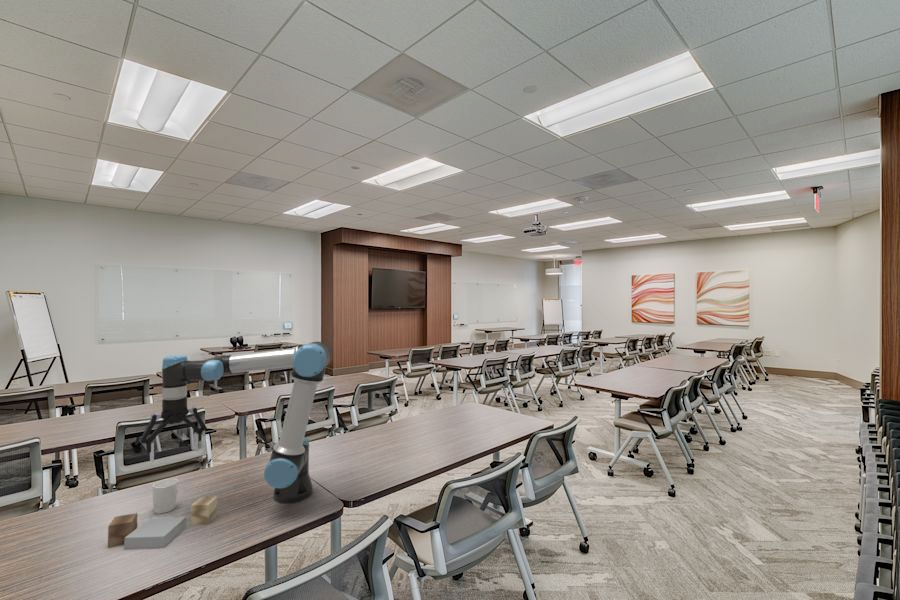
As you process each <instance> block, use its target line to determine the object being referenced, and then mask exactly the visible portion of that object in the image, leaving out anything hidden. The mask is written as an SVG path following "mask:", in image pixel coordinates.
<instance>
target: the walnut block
mask: <svg viewBox="0 0 900 600" xmlns="http://www.w3.org/2000/svg"><path fill="white" fill-rule="evenodd" d="M137 528H138V513H137V512H135V513H130V514H124V515H118V516H115V517H114V518H113V519H112V520H111V522H110V523H109V525H108V526H107V531H108V532H107V533H108V534H107V548H115V547H119V546H124V542H125V537H126V536H128V535H129V534H130V533H131V532H133V531H134V530H135V529H137Z"/></svg>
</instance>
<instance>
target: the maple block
mask: <svg viewBox="0 0 900 600" xmlns="http://www.w3.org/2000/svg"><path fill="white" fill-rule="evenodd" d="M217 516H218V496H202V497H198V499H197V500H196V501H194V502H193V503H192V504H191V505H190V525H191V526H201V525H202V526H203V525H209V524H210V523H211V522H212V521H213V520H214V519H215V518H217Z"/></svg>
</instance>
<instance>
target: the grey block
mask: <svg viewBox="0 0 900 600" xmlns="http://www.w3.org/2000/svg"><path fill="white" fill-rule="evenodd" d="M186 527H187V516H165V517H164V516H163V517H149V518H148V519H146V520H145V521H144V522H142V524H140V525H139V526H137V529H135V530H134V531H133V532H131V533H130V534H129V535H128V536H126V537H125V542H124V545H123V546H124V547H123V549H124V550H139V549H141V550H142V549H143V550H144V549H162V548H163V549H164V548H165V547H166V546H167V545H169V544H170V543H171V542H172V541H173V540H174V539H175V538H176V537H177V536H178V535H179V534H180V533H181V532H183V531H184V529H185V528H186Z"/></svg>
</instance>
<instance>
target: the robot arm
mask: <svg viewBox="0 0 900 600" xmlns="http://www.w3.org/2000/svg"><path fill="white" fill-rule="evenodd" d="M331 360H332V351H331V348H330V347H329V346H328V345H327V344H326V343H324V342H321V341H313V342H309V343H305V344H299V345H297V346H296V347H291V348H283V349H274V350H273V349H272V350H263V351H255V352H247V353H246V352H245V353H237V354H228V355H227V354H222V355H220V354H219V355H217V356H214V357H211V358H207V359H204V360H202V359H201V360H188V356H187V355H185V354H183V355H182V354H181V355H179V354H177V355H176V354H175V355H168V356H165V357H164V358H163V359H162V366H161V367H162V368H161V371H162V372H161V373H162V374H161V375H162V384H161V385H162V386H161V388H162V389H161V390H162V391H161V392H162V394H161V397H162V401H161V403H162V405H161V407H162V408H161V409H162V411H161V413H152V414H151V416H150V421H148V424H147V426H146V428H145V430H144V432H143V433H142V435H141V437H140V439H139V442H140V444H145V446H146V447H145V448H146V449H145V450H146V453H148V454H149V460H150V462H151V463H154V462H155V442H154V440H155V439H156V437H157V436H158V435H159V434H160V433H161V432H162V431H163V430H164V428H165V427H166V426H168V425H174V424H180V423H182V422H184V423H186V424H187V425H188V426H189V427H191V428H192V429H193V430H195V432H194V434H193V435H194V436H193V439H194V441H193V442H194V444H193V450H194V451H195V452H199V442H202V434H203V432H204V431H207V430H208V427H207V425H206V424H205V423H204V421H203V419H202V418H201V416H200V415H199V413H198V408H197V407H196V406H193V407H191V408H188V397H187V396H188V382H205V381H207V382H211V381H218V380H220V379H221V378H222V376H223V375H230V374H237V373H245V372H247V373H248V372H254V371H255V372H256V371H257V372H258V371H264V370H273V369H283V368H291V367H293V368H292V372H291V378H292V379H293V384H292V389H291V392H290V397H289V400H288V404H287V409H286V411H285V416H284V420H283V424H282V428H281V432H280V435H279V440H278V442H276V443H275V444H274V445H273V447H272V451H271V455H270V457H269V462H267V464H266V465H265V468H264V471H263V477H264V480H265V482H266V483H267V484H268V485H269V486H271V487H272V488H274V489H273V497H272V498H273V500H274V501H275V502H278V503H282V504H284V503H285V504H288V503H289V504H291V503H296V502H300V501H303V500H306V499H307V498H309V497H310V496H312V494H313V492H314V485H313V482H312V480H311V476H310V473H309V472H310V471H309V469H310V468H309V466H310V465H309V463H310V461H309V459H310V440H309V438H307V437H305V436H306V432H307V427H308V423H309V421H310V420H309V419H310V415H311V412H312V408H313V403H314V400H315V399H314V398H315V396H316V392H317V387H318V385H319V384H320V383H322V382H323V381H324V376H325V374H326V373H325V372H326V368H327V366H328V365H329V364H330V362H331ZM189 413H190V414H191V415H192V416H193V417H194V419H195V420H196V421H197V423H198V424H199V426H200V428H199V427H198V426H197V425H195V424H194V423H193V422H192V421H191V420H189V419H188V418H187V417H186V416H188V414H189ZM160 418H161V419H162V421H161V422H160V423H159V425H158V426H157V427H156V428H155V429H154V428H153V427H155V424H156V423H157V422H156V421H158V420H159V419H160ZM152 429H154V430H153V432H151V431H152ZM150 433H151V434H150Z"/></svg>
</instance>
